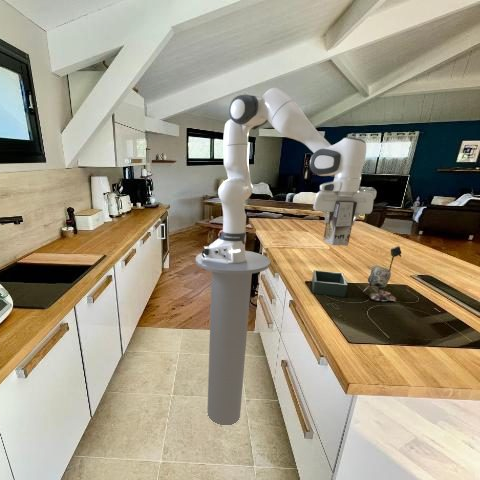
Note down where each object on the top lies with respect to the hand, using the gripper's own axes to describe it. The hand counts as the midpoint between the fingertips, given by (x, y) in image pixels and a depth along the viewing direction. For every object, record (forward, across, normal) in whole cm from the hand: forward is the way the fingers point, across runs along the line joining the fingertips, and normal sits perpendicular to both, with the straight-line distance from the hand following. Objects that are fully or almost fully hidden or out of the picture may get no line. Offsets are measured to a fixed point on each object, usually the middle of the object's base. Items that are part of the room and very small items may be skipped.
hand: (338, 224), depth 119 cm
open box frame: (+26, 0, +2) cm, 26 cm away
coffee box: (+7, 0, 0) cm, 7 cm away
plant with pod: (+26, -18, +6) cm, 32 cm away
